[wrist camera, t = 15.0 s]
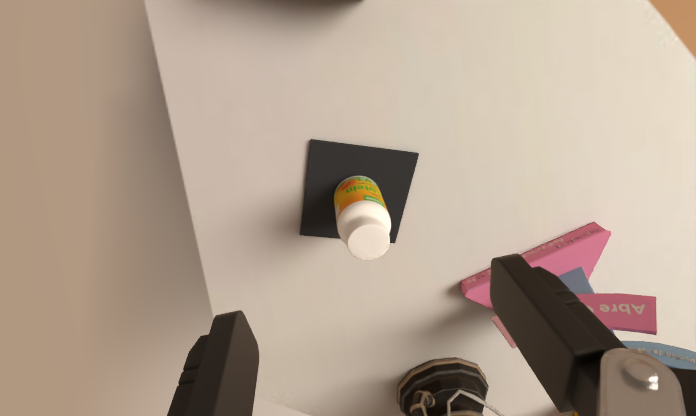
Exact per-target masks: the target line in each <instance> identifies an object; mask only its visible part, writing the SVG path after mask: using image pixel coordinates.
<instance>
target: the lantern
mask: <svg viewBox="0 0 696 416" xmlns="http://www.w3.org/2000/svg"><path fill="white" fill-rule="evenodd" d="M488 387H489V386H488V384H487V382H486V376H485V375H484V374H483V372H482V371H481V369H480V368H479V366H478V365H477V364H475V363H472V362H468V361H465V360H462V359H459V358H449V359H440V360H432V361H430V362H428V363H426V364H424V365H422V366H420V367H417V368H415V369H413V370H411V371H410V373H409V374H408V375H407V376H406V377H405V378H404V379H403V381H402V382H401V383H400V384H399V385H398V392H397V403H398V404H399V405H400V409H401V411H402V412H403V413H404V414H405V415H406V416H483V414H482V411H483V408H484V406H486V407H487V408H489V409H491V410H492V411H494V412H495V413H496V414H498V415H499V416H504V415H502V414H501V413H500V412H499V411H498V410H497V409H495V408H494V407H493V406H491V405H490V404H488V403H486V402H485V398H486V395H487V391H488Z"/></svg>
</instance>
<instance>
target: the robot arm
mask: <svg viewBox="0 0 696 416" xmlns="http://www.w3.org/2000/svg"><path fill="white" fill-rule="evenodd" d="M490 300H491V303H492V306H493V309H494V311H495V313H496V314H497V316H498V318H499V319H500V321H501V322H502V324H503V325H504V327H505V328H506V330H507V331H508V333H509V335H510V336H511V338H512V339H513V341H514V342H515V344H516V345H517V347H518V349H519V350H520V352H521V353H522V355H523V356H524V358H525V359H526V361H527V363H528V364H529V366H530V367H531V369H532V370H533V372H534V373H535V375H536V377H537V378H538V380H539V381H540V383H541V384H542V386H543V387H544V389H545V390H546V392H547V394H548V395H549V397H550V398H551V400H552V401H553V403H554V404H555V406H556V408H557V409H558V411H559V412H560V413H562V412H567V411H572V410H575V411H576V412H577V414H578V415H579V416H696V370H692V369H680V368H672V367H667V366H666V365H665V364H663V363H662V362H661V361H659V360H658V359H656V358H654V357H653V356H651V355H649V354H646V353H644V352H641V351H638V350H634V349H630V348H627V347H626V346H625V345H624V344H623V343H622V342H621V341H620V340H619V339H618V338H617V337H616V336H615V335H614V334H613V333H612V332H611V331H610V330H609V329H608V328H607V327H606V326H605V325H604V324H603V323H602V322H601V321H600V320H599V319H598V318H597V317H596V316H595V315H594V314H593V312H592V311H591V310H590V309H589V308H588V307H587V306H586V305H585V304H584V303H583V302H580V299H579V298H578V297H577V296H576V295H575V294H574V293H573V292H572V291H570V290H569V288H568V287H567V286H566V285H565V284H564V283H563V282H562V281H561V280H560V279H559V278H558V276H556V275H555V274H553V273H551V272H549V271H547V270H546V269H544V268H542V267H540V266H537V267H533V268H532V267H531V266H530V265H529V264H528V263H527V262H526V260H525V259H524V258H523V257H522V256H521V255H519V254H511V255H506V256H502V257H497V258H493V259H492V261H491V274H490ZM258 366H259V349H258V345H257V341H256V339H255V337H254V335H253V333H252V330H251V328H250V326H249V324H248V322H247V320H246V317H245V315H244V313H243V312H242V311H241V310H239V311H234V312H230V313H225V314H220V315H216V316H215V318H214V320H213V323H212V326H211V330H210V333H209V334H208V335H204V336H200V338H199V339H198V341H197V342H196V343H195V345H194V346H193V347H192V349H191V350H190V351H189V354H188V356H187V359H186V362H185V365H184V368H183V370H184V371H183V372H182V374H181V377H180V380H179V386H177V388H176V391H175V394H174V397H173V400H172V403H171V406H170V409H169V412H168V414H167V416H252V411H253V404H254V396H255V388H256V381H257V373H258Z"/></svg>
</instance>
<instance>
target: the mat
mask: <svg viewBox="0 0 696 416" xmlns="http://www.w3.org/2000/svg"><path fill="white" fill-rule="evenodd" d="M418 155H419V154H418V153H414V152H406V151H399V150H391V149H383V148H375V147H368V146H360V145H352V144H344V143H337V142H329V141H321V140H313V139H311V144H310V153H309V162H308V171H307V179H306V188H305V197H304V206H303V214H302V223H301V232H300V235H304V236H316V237H328V238H340V236H339V233H338V229H337V221H336V212H335V204H334V194H335V190H336V188H337V187H338V185H339V184H340V183H341V182H342V181H343V180H345V179H346V178H349V177H352V176H365V177H367V178H369V179H371V180H373V181H374V182H375V183H376V185H377V186H378V188H379V190H380V193H381V195H382V198H383V200H384V203H385V206H386V208H387V211H388V213H389V216H390V219H391V230H390V233H389V237H390V243H395V241H396V237H397V233H398V230H399V226H400V222H401V219H402V215H403V211H404V207H405V204H406V200H407V196H408V193H409V189H410V185H411V181H412V178H413V174H414V170H415V167H416V163H417V159H418ZM340 239H341V238H340Z"/></svg>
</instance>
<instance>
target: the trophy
mask: <svg viewBox="0 0 696 416" xmlns="http://www.w3.org/2000/svg"><path fill="white" fill-rule="evenodd" d="M610 235H611V231H608V230H605V229H604V228H602V227H601V226H599V225H598V224H596V223H595V222H593V223H590V224H588V225H586V226H584V227H581V228H579V229H577V230H575V231H572V232H570V233H568V234H566V235H564V236H561V237H559V238H557V239H555V240H552V241H550V242H548V243H546V244H543V245H541V246H539V247H537V248H534V249H532V250H530V251H528V252H525V253H523V254H521V256H522V257H523V258H524V259H525V260H526V262H527V263H528V264H529V265H530V266H531V267H532V268H533V267H537V266H540V267H542V268H544V269H546V270H547V271H549V272H551V273H553V274H555V275H556V276H558V278H559V279H560V280H561V281H562V282H563V283H564V284H565V285H566V286H567V287H568V288H569V290H570V291H572V292H573V293H574V294H575V295H576V296H577V297H578V298H579V299H580V302H583V303H584V304H585V305H586V306H587V307H588V308H589V309H590V310H591V311H592V312H593V314H594V315H595V316H596V317H597V318H598V319H599V320H600V321H601V322H602V323H603V324H604V325H605V326H606V327H607V328H608V329H609V330H610V331H611V332H612V333H613V334H614V332H613V330H621V331H631V332H640V333H646V334H653V335H656V333H657V326H656V297H652V296H642V295H631V294H595V293H594V291H593V289H592V287H591V285H590V283H589V281H588V279H589V277H590V275H591V273H592V271H593V269H594V267H595V265H596V263H597V261H598V259H599V257H600V255H601V253H602V251H603V249H604V247H605V245H606V243H607V241H608V239H609V237H610ZM490 274H491V268H490V269H487V270H485V271H483V272H481V273H478V274H476V275H474V276H472V277H469V278H467V279H465V280H463V281H462V282H461V286H460V288H461V290H462V292H463V294H464V295H465V297H466V298H468V299H470V300H472V301H475V302H477V303H479V304H481V305H484V306H486V307H488V308H490V309H492V310H494V309H493V306H492V303H491V300H490ZM492 321H493V322H494V324H495V325H496V326H497V328H498V329H499V331H500V332H501V333H502V335H503V336H504V337H505V339H506V340H507V342H508V343H509V344H510V346H511V347H512V348H515V347H517V345H516V344H515V342H514V341H513V339H512V338H511V336H510V335H509V333H508V331H507V330H506V328H505V327H504V325H503V324H502V322H501V321H500V319H499V318H498V316H497V315H496V316H495V317H493V318H492ZM614 335H615V334H614ZM621 342H622V343H623V344H624V345H625V346H626V347H627V348H630V349H634V350H638V351H641V352H644V353H646V354H649V355H651V356H653V357H654V358H656V359H658V360H659V361H661V362H662V363H663V364H665V365H666V366H667V367H672V368H680V369H692V370H696V352H693V351H690V350H687V349H683V348H678V347H674V346H669V345H665V344H661V343H653V342H644V341H621Z"/></svg>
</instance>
